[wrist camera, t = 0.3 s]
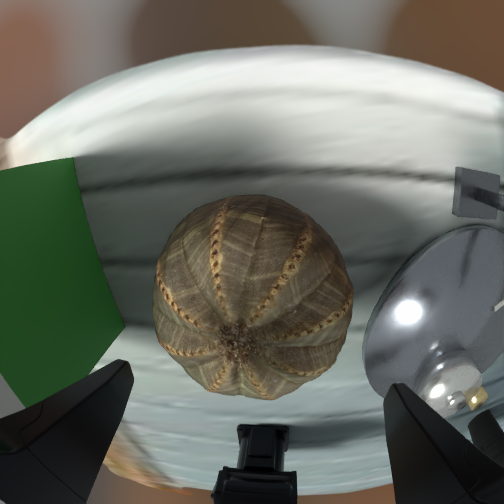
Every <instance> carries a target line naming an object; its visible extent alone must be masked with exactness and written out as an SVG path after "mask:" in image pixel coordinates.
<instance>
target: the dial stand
mask: <svg viewBox="0 0 504 504" xmlns="http://www.w3.org/2000/svg"><path fill="white" fill-rule="evenodd" d="M499 185H500V176H499V175H495V174H491V173H486V172H481V171H476V170H471V169H466V168H460V167H456V172H455V189H454V201H453V211H452V214H454V215H456V216H458V217H470V218H482V219H493V220H496V214H497V209H498V210H501V211H503V212H504V195H501V194H499Z"/></svg>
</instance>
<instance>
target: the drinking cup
mask: <svg viewBox="0 0 504 504" xmlns="http://www.w3.org/2000/svg"><path fill="white" fill-rule="evenodd" d="M468 428H469V431H470V435H471V438H472V441H473V445H475V446H476V447H477V448H478V449H479V450H481V451H482V452H483V453H484V454H486V455H487V456H489V457H490V458H491V459H493V460H494V461H496V462H497V463H498V464H500V465H501V466H503V467H504V432H503V430H502V429H501V427H500V426H499V424H498V423H497V421H496V420H495V418H494V417H493V415H492V414H491V412H490V411H489V410H487V411H484V412H482V413H480V414H479V415H478V416H476V417H475V418H474V419H473V420H472V421H471V422H470V423H469V425H468Z"/></svg>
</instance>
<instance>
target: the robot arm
mask: <svg viewBox="0 0 504 504" xmlns="http://www.w3.org/2000/svg"><path fill="white" fill-rule="evenodd" d="M133 384H134V376H133V373H132V370H131V367H130V364H129V362H128V361H125V360H121V359H117V360H115V361H113V362H111V363H110V364H108V365H106V366H104V367H102V368H101V369H99V370H97V371H95V372H93V373H92V374H90V375H88V376H86V377H84V378H82V379H81V380H79V381H77V382H75V383H73V384H71V385H70V386H68V387H66V388H64V389H62V390H60V391H58V392H57V393H55V394H53V395H51V396H49V397H47V398H45V399H44V400H41V401H39V402H37V403H36V404H33V405H31V406H29V407H27V408H25V409H23V410H20V411H18V412H16V413H13V414H10V415H8V416H5V417H2V418H0V504H86V501H87V499H88V497H89V494H90V492H91V489H92V487H93V484H94V482H95V479H96V477H97V474H98V472H99V470H100V467H101V465H102V463H103V460H104V458H105V456H106V453H107V451H108V449H109V446H110V444H111V442H112V439H113V437H114V435H115V433H116V430H117V428H118V426H119V424H120V422H121V419H122V417H123V414H124V411H125V408H126V405H127V402H128V399H129V396H130V393H131V390H132V387H133ZM383 406H384V417H385V430H386V441H387V447H388V453H389V459H390V465H391V471H392V478H393V485H394V492H395V501H396V504H504V467H503V466H501V465H500V464H498V463H497V462H496V461H494V460H493V459H491V458H490V457H489V456H487V455H486V454H484V453H483V452H482V451H481V450H479V449H478V448H477V447H476V446H475V445H473V444H472V443H471V442H470V441H469V440H468V439H465V437H464V436H463V435H462V434H461V433H460V432H459V431H458V430H456V429H455V428H454V427H453V426H452V425H451V424H450V423H449V422H447V421H446V420H445V419H444V418H443V417H442V416H441V415H440V414H438V413H437V412H436V411H435V410H434V409H433V408H432V407H431V406H429V405H428V404H427V403H426V402H425V401H424V400H423V399H421V398H420V397H419V396H418V395H417V394H416V393H415V392H414V391H412V390H411V389H410V388H409V387H408V386H407V385H406V384H404V383H402V382H400V383H393V384H392V385H391V386H390V388H389V390H388V392H387V394H386V396H385V398H384V402H383ZM237 433H238V439H239V445H240V451H239V457H238V463H237V468H230V467H227V466H224V467H223V470H221V471H219V474H218V478H217V482H216V484H215V486H214V489H213V491H212V493H211V498H212V499H213V501H214V504H297V473H296V471H292V472H285V471H284V455H285V452H286V451H287V447H288V439H289V428H288V427H264V426H246V425H239V426H238V427H237Z"/></svg>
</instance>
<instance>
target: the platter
mask: <svg viewBox="0 0 504 504" xmlns="http://www.w3.org/2000/svg"><path fill="white" fill-rule="evenodd" d="M456 349H460V350H464V351H465V352H467V354H468V355H469V357H470V358H471V360H472V361H473V363H474V364H475V366H476V367H477V369H478V370H479V372H480V373H481V374H482V373H483V372H484V371H485V370H486V369H487V368H488V367H489V366H490V365H491V364H492V363H493V362H494V361H495V360H496V359H497V357H498V356H499V355H500V354H501V352H502V351H503V350H504V233H502V232H500V231H498V230H496V229H493V228H491V227H487V226H481V225H479V226H467V227H463V228H458V229H456V230H453V231H451V232H448V233H446V234H444V235H442V236H441V237H439V238H437V239H435V240H434V241H432V242H431V243H430V244H428V245H427V246H425V247H424V248H423V249H421V250H420V251H419V252H418V253H417V254H416V255H415V256H413V257H412V258H411V259H410V260H409V261H408V262H407V263H406V264H405V265H404V266H403V267H402V269H401V270H400V271H399V272H398V273H397V274H396V276H395V277H394V278H393V279H392V281H391V282H390V283H389V285H388V286H387V288H386V289H385V291H384V292H383V294H382V295H381V297H380V298H379V300H378V302H377V304H376V306H375V308H374V310H373V312H372V314H371V317H370V319H369V321H368V324H367V328H366V331H365V335H364V340H363V347H362V353H363V363H364V368H365V371H366V375H367V377H368V380H369V383H370V384H371V386H372V387H373V389H374V390H375V391H376V392H377V393H378V394H379V395H380V396H382V397H383V398H385V396H386V394H387V392H388V390H389V388H390V386H391V385H392V384H393V383H400V382H402V383H404V384H406V385H407V386H408V387H409V388H410V389H411V390H412V391H413V385H414V382H415V380H416V378H417V376H418V375H419V373H420V372H421V371H422V369H423V368H424V367H425V366H426V365H427V364H429V363H430V362H431V361H432V360H434V359H435V358H436V357H438V356H440V355H441V354H443V353H446V352H448V351H451V350H456ZM487 399H488V394H487V393H486V391H485V389H484V388H483V386H482V384H481V387H480V389H479V391H478V392H477V394H476V395H475V396H474V398H473V399H472V400H471V401H470V402H469V403H468V405H469V407H470V409H471V410H476V409H478V408H479V407H481V406H482V405H483V404H484V403H485V402H486V400H487Z"/></svg>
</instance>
